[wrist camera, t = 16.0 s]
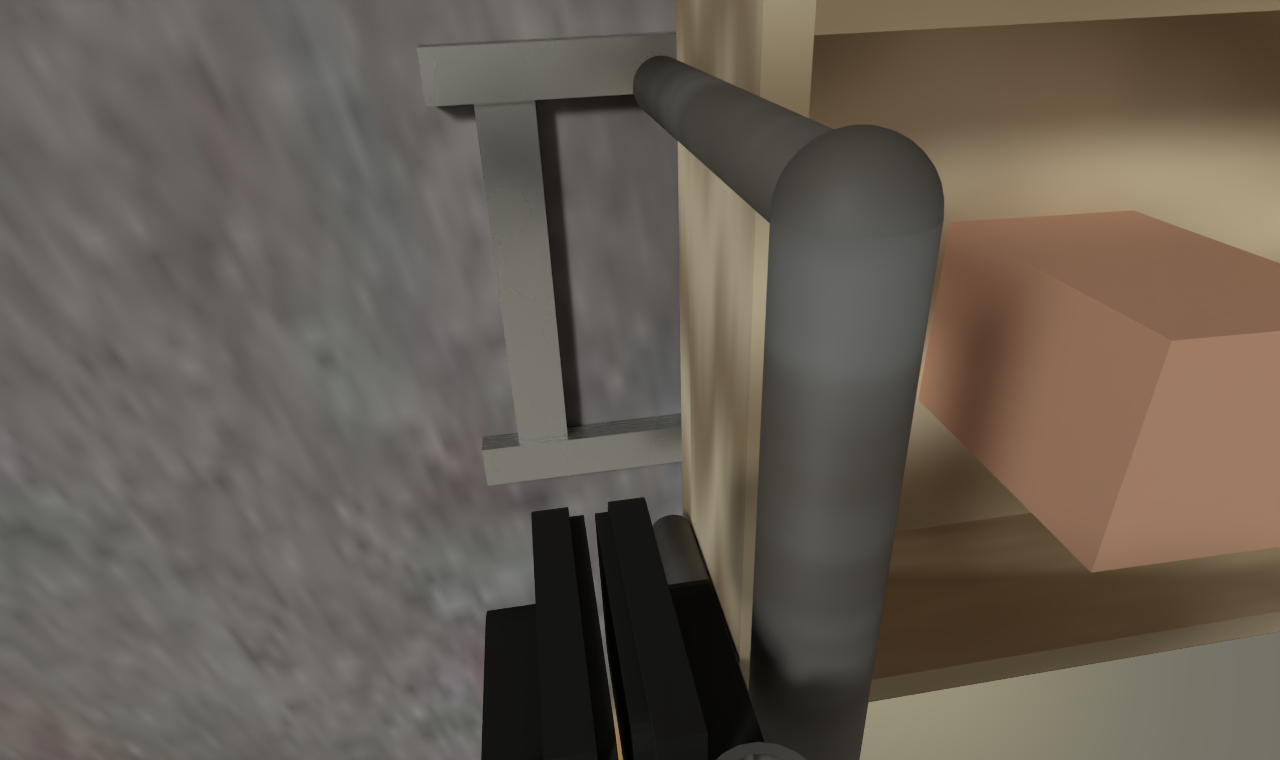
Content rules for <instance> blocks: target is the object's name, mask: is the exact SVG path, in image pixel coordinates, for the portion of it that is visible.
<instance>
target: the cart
mask: <svg viewBox="0 0 1280 760" xmlns="http://www.w3.org/2000/svg"><path fill="white" fill-rule="evenodd" d="M676 41H677V60H676V59H674V58H672V57H669V56H662V55H660V56H654V57H651V58H649V59H648V60H646V61H645V62H643V63H642V64H641V65H640V67H639V68H638V70H637V71H636V74H635V76H634V80H633V93H634V97H635V100H636V102H637V103H638V105H639V106H640V107H641V108H642V109H643V110H644V111H645V112H646V113H647V114H648V115H649V116H651V117H652V118H653V119H654V120H655V121H656V122H657V123H658V124H659V125H661V126H662V127H663V128H664V129H665V130H666V131H667V132H668V133H669V134H671V135H672V136H673V137H674V138H675V139H676V140H677V141H678V195H679V271H680V348H681V425H682V501H683V517H682V516H679V515H668V516H665V517H662V518H661V519H659V520H658V521H657V522H655V524H654V525H653V526H652V527H653V530H654V534H655V538H656V541H657V545H658V549H659V553H660V556H661V560H662V564H663V568H664V571H665V575H666V579H667V583H668V585H669V584H676V583H683V582H690V581H697V580H704V579H708V581H709V582H710V584H711V586H712V589H713V591H714V594H715V597H716V600H717V603H718V606H719V609H720V612H721V615H722V618H723V621H724V624H725V627H726V630H727V632H728V635H729V638H730V641H731V644H732V647H733V650H734V653H735V656H736V659H737V662H738V665H739V668H740V671H741V674H742V677H743V680H744V683H745V686H746V688H747V691H748V694H749V697H750V700H751V703H752V706H753V709H754V712H755V715H756V718H757V721H758V724H759V727H760V730H761V733H762V736H763V739H764V742H765V743H772V744H778V745H781V746H783V747H786V748H788V749H791V750H793V751H796V752H797V753H799V754H800V755H801V756H803V757H804V758H805V759H807V760H859V758H860V752H861V746H862V739H863V733H864V727H865V720H866V714H867V707H868V702H872V701H878V700H883V699H890V698H895V697H902V696H907V695H913V694H919V693H925V692H931V691H937V690H942V689H948V688H954V687H960V686H966V685H972V684H977V683H983V682H989V681H995V680H1001V679H1006V678H1012V677H1018V676H1024V675H1030V674H1036V673H1041V672H1047V671H1053V670H1059V669H1065V668H1071V667H1077V666H1082V665H1088V664H1094V663H1100V662H1106V661H1111V660H1117V659H1123V658H1128V657H1135V656H1141V655H1147V654H1152V653H1158V652H1164V651H1170V650H1176V649H1182V648H1188V647H1194V646H1199V645H1205V644H1211V643H1217V642H1223V641H1228V640H1234V639H1240V638H1246V637H1252V636H1258V635H1264V634H1270V633H1275V632H1280V547H1274V548H1267V549H1259V550H1252V551H1245V552H1238V553H1230V554H1223V555H1216V556H1208V557H1201V558H1194V559H1186V560H1179V561H1172V562H1164V563H1157V564H1150V565H1143V566H1135V567H1128V568H1121V569H1113V570H1106V571H1099V572H1090V571H1089V570H1088V569H1087V568H1086V567H1085V566H1084V565H1083V564H1082V563H1081V562H1080V561H1079V560H1078V559H1077V558H1076V557H1075V556H1074V555H1073V554H1072V553H1071V552H1070V551H1069V550H1068V549H1067V548H1066V547H1065V546H1064V545H1063V544H1062V543H1061V542H1060V541H1059V540H1058V539H1057V538H1056V537H1055V536H1054V535H1053V534H1052V533H1051V532H1050V531H1049V530H1048V529H1047V528H1046V527H1045V526H1044V525H1043V524H1042V523H1041V522H1040V521H1039V520H1038V519H1037V518H1036V517H1035V516H1034V515H1033V514H1032V513H1031V512H1030V511H1029V510H1028V509H1027V508H1026V507H1025V506H1024V505H1023V504H1022V503H1021V502H1020V501H1019V500H1018V499H1017V498H1016V497H1015V496H1014V495H1013V494H1012V493H1011V492H1010V491H1009V490H1008V489H1007V488H1006V487H1005V486H1004V485H1003V484H1002V483H1001V482H1000V481H999V480H998V479H997V478H996V477H995V476H994V475H993V474H992V473H991V472H990V471H989V470H988V469H987V468H986V467H985V466H984V465H983V464H982V463H981V462H980V461H979V460H978V459H977V458H976V457H975V456H974V455H973V454H972V453H971V452H970V451H969V450H968V449H967V448H966V447H965V446H964V445H963V444H962V443H961V442H960V441H959V440H958V439H957V438H956V437H955V436H954V435H953V434H952V433H951V432H950V431H949V430H948V429H947V428H946V427H945V426H944V425H943V424H942V423H941V422H940V421H939V420H938V419H937V418H936V417H935V416H934V415H933V414H932V413H931V412H930V411H929V410H928V409H927V408H926V407H925V406H924V405H923V404H922V403H921V402H920V401H919V400H918V398H919V392H920V387H921V381H922V376H923V370H924V365H925V359H926V354H927V348H928V343H929V337H930V332H931V326H932V321H933V315H934V310H935V304H936V299H937V293H938V288H939V282H940V277H941V271H942V265H943V260H944V254H945V249H946V243H947V238H948V232H949V227H950V222H962V221H977V220H993V219H1008V218H1023V217H1039V216H1054V215H1069V214H1084V213H1100V212H1115V211H1130V210H1134V211H1136V212H1139V213H1142V214H1145V215H1148V216H1150V217H1153V218H1156V219H1159V220H1161V221H1164V222H1167V223H1170V224H1172V225H1175V226H1178V227H1181V228H1183V229H1186V230H1189V231H1192V232H1195V233H1197V234H1200V235H1203V236H1206V237H1208V238H1211V239H1214V240H1217V241H1219V242H1222V243H1225V244H1228V245H1231V246H1233V247H1236V248H1239V249H1242V250H1244V251H1247V252H1250V253H1253V254H1255V255H1258V256H1261V257H1264V258H1266V259H1269V260H1272V261H1275V262H1278V263H1280V0H676Z"/></svg>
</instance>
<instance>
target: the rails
mask: <svg viewBox="0 0 1280 760" xmlns="http://www.w3.org/2000/svg"><path fill="white" fill-rule="evenodd" d="M417 54H418V60H419V66H420V72H421V78H422V84H423V91H424V97H425V103H426V107H432V106H448V105H465V104H474V110H475V117H476V125H477V132H478V140H479V147H480V155H481V162H482V170H483V177H484V184H485V192H486V199H487V207H488V214H489V222H490V229H491V237H492V244H493V252H494V259H495V266H496V274H497V281H498V289H499V296H500V304H501V311H502V319H503V326H504V333H505V341H506V348H507V356H508V363H509V371H510V378H511V386H512V393H513V400H514V408H515V415H516V423H517V430H518V433H517V434H508V435H500V436H491V437H483V440H482V453H483V459H484V465H485V471H486V478H487V484H488V486H489V485H497V484H505V483H513V482H521V481H529V480H537V479H545V478H553V477H561V476H569V475H577V474H585V473H593V472H601V471H609V470H617V469H625V468H633V467H641V466H649V465H657V464H665V463H673V462H681V461H682V425H681V414H679V415H671V416H662V417H654V418H645V419H636V420H628V421H619V422H611V423H602V424H594V425H585V426H577V427H568V428H567V424H566V414H565V404H564V393H563V383H562V373H561V363H560V352H559V342H558V332H557V322H556V311H555V301H554V291H553V281H552V271H551V260H550V250H549V240H548V230H547V219H546V209H545V199H544V189H543V178H542V168H541V158H540V148H539V137H538V127H537V117H536V107H535V100H545V99H561V98H577V97H594V96H610V95H626V94H634V93H633V80H634V76H635V74H636V71H637V70H638V68H639V67H640V65H641V64H642V63H643V62H645V61H646V60H648V59H649V58H651V57H654V56H660V55H662V56H669V57H672V58H674V59H676V60H677V41H676V32H668V33H649V34H630V35H610V36H591V37H572V38H553V39H533V40H514V41H495V42H476V43H457V44H437V45H419V46H418V47H417Z"/></svg>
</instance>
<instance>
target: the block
mask: <svg viewBox="0 0 1280 760" xmlns="http://www.w3.org/2000/svg"><path fill="white" fill-rule="evenodd" d="M918 400H919V401H920V402H921V403H922V404H923V405H924V406H925V407H926V408H927V409H928V410H929V411H930V412H931V413H932V414H933V415H934V416H935V417H936V418H937V419H938V420H939V421H940V422H941V423H942V424H943V425H944V426H945V427H946V428H947V429H948V430H949V431H950V432H951V433H952V434H953V435H954V436H955V437H956V438H957V439H958V440H959V441H960V442H961V443H962V444H963V445H964V446H965V447H966V448H967V449H968V450H969V451H970V452H971V453H972V454H973V455H974V456H975V457H976V458H977V459H978V460H979V461H980V462H981V463H982V464H983V465H984V466H985V467H986V468H987V469H988V470H989V471H990V472H991V473H992V474H993V475H994V476H995V477H996V478H997V479H998V480H999V481H1000V482H1001V483H1002V484H1003V485H1004V486H1005V487H1006V488H1007V489H1008V490H1009V491H1010V492H1011V493H1012V494H1013V495H1014V496H1015V497H1016V498H1017V499H1018V500H1019V501H1020V502H1021V503H1022V504H1023V505H1024V506H1025V507H1026V508H1027V509H1028V510H1029V511H1030V512H1031V513H1032V514H1033V515H1034V516H1035V517H1036V518H1037V519H1038V520H1039V521H1040V522H1041V523H1042V524H1043V525H1044V526H1045V527H1046V528H1047V529H1048V530H1049V531H1050V532H1051V533H1052V534H1053V535H1054V536H1055V537H1056V538H1057V539H1058V540H1059V541H1060V542H1061V543H1062V544H1063V545H1064V546H1065V547H1066V548H1067V549H1068V550H1069V551H1070V552H1071V553H1072V554H1073V555H1074V556H1075V557H1076V558H1077V559H1078V560H1079V561H1080V562H1081V563H1082V564H1083V565H1084V566H1085V567H1086V568H1087V569H1088V570H1089V571H1090V572H1099V571H1106V570H1113V569H1121V568H1128V567H1135V566H1143V565H1150V564H1157V563H1164V562H1172V561H1179V560H1186V559H1194V558H1201V557H1208V556H1216V555H1223V554H1230V553H1238V552H1245V551H1252V550H1259V549H1267V548H1274V547H1280V263H1278V262H1275V261H1272V260H1269V259H1266V258H1264V257H1261V256H1258V255H1255V254H1253V253H1250V252H1247V251H1244V250H1242V249H1239V248H1236V247H1233V246H1231V245H1228V244H1225V243H1222V242H1219V241H1217V240H1214V239H1211V238H1208V237H1206V236H1203V235H1200V234H1197V233H1195V232H1192V231H1189V230H1186V229H1183V228H1181V227H1178V226H1175V225H1172V224H1170V223H1167V222H1164V221H1161V220H1159V219H1156V218H1153V217H1150V216H1148V215H1145V214H1142V213H1139V212H1136V211H1134V210H1130V211H1115V212H1100V213H1084V214H1069V215H1054V216H1039V217H1023V218H1008V219H993V220H977V221H962V222H950V227H949V232H948V238H947V243H946V249H945V254H944V260H943V265H942V271H941V277H940V282H939V288H938V293H937V299H936V304H935V310H934V315H933V321H932V326H931V332H930V337H929V343H928V348H927V354H926V359H925V365H924V370H923V376H922V381H921V387H920V392H919V398H918Z"/></svg>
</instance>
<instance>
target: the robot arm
mask: <svg viewBox="0 0 1280 760" xmlns="http://www.w3.org/2000/svg"><path fill="white" fill-rule="evenodd" d="M595 522H596V533H597V544H598V556H599V567H600V578H601V589H602V600H603V611H604V623H605V634H606V644H607V653H608V661H609V668H610V675H611V682H612V688H613V695H614V702H615V708H616V715H617V722H618V728H619V735H620V741H621V748H622V755H623V760H807V759H805V758H804V757H803V756H801V755H800V754H799V753H797V752H796V751H793V750H791V749H788V748H786V747H783V746H781V745H778V744H772V743H765V742H764V739H763V736H762V733H761V730H760V727H759V724H758V721H757V718H756V715H755V712H754V709H753V706H752V703H751V700H750V697H749V694H748V691H747V688H746V686H745V683H744V680H743V677H742V674H741V671H740V668H739V665H738V662H737V659H736V656H735V653H734V650H733V647H732V644H731V641H730V638H729V635H728V632H727V630H726V627H725V624H724V621H723V618H722V615H721V612H720V609H719V606H718V603H717V600H716V597H715V594H714V591H713V589H712V586H711V584H710V582H709V581H708V579H704V580H697V581H690V582H683V583H676V584H669V585H668V583H667V579H666V575H665V571H664V568H663V564H662V560H661V556H660V553H659V549H658V545H657V541H656V538H655V534H654V530H653V527H652V523H651V519H650V515H649V512H648V508H647V504H646V501H645V498H644V497H642V498H634V499H627V500H619V501H611V502H608V512H603V513H596V514H595ZM532 536H533V557H534V578H535V599H536V604H532V605H525V606H518V607H511V608H504V609H497V610H490V611H487V615H486V627H485V660H484V692H483V724H482V756H481V760H618V752H617V744H616V735H615V728H614V720H613V713H612V707H611V700H610V693H609V686H608V679H607V672H606V665H605V658H604V652H603V645H602V638H601V631H600V624H599V617H598V610H597V603H596V596H595V590H594V583H593V576H592V569H591V562H590V555H589V548H588V541H587V535H586V528H585V521H584V515H580V516H573V517H569V511H568V507H565V508H558V509H550V510H543V511H535V512H532Z"/></svg>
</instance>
